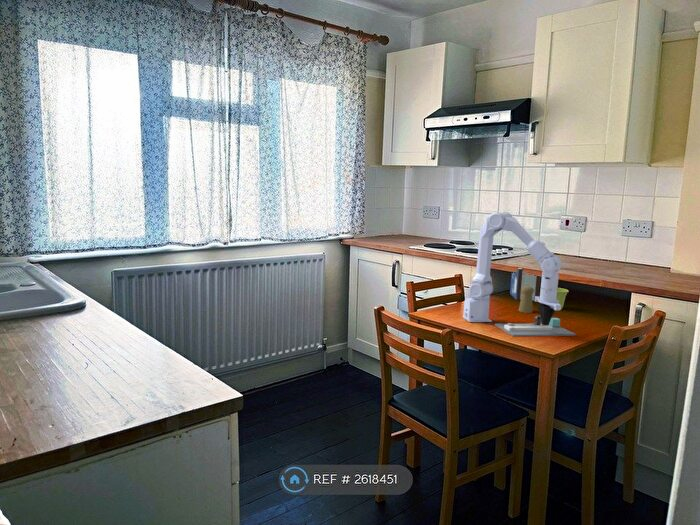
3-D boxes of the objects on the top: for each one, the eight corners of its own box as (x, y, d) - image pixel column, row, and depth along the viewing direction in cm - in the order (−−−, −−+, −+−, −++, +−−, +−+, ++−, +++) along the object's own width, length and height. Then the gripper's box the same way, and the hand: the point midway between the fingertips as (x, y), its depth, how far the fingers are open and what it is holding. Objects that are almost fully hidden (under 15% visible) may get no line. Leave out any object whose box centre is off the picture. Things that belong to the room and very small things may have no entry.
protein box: (530, 294, 267) (533, 264, 265) (538, 301, 252) (541, 269, 250) (509, 293, 268) (512, 263, 266) (515, 300, 253) (518, 268, 251)
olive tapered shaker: (533, 313, 227) (536, 288, 225) (519, 312, 228) (521, 287, 226) (531, 310, 233) (534, 285, 231) (517, 309, 234) (519, 284, 232)
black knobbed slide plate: (515, 328, 197) (516, 317, 197) (512, 326, 199) (513, 315, 199) (549, 328, 200) (550, 317, 199) (546, 326, 202) (547, 315, 201)
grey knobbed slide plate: (512, 336, 190) (513, 329, 190) (494, 325, 205) (494, 319, 204) (575, 335, 194) (576, 329, 194) (553, 324, 209) (553, 318, 209)
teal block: (552, 326, 203) (553, 319, 202) (549, 324, 205) (549, 317, 205) (559, 326, 203) (560, 319, 203) (556, 324, 206) (556, 317, 205)
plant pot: (559, 305, 245) (561, 287, 244) (570, 310, 236) (572, 291, 234) (540, 305, 243) (542, 287, 242) (551, 310, 234) (553, 291, 233)
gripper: (570, 293, 187) (566, 330, 189) (548, 285, 201) (544, 319, 203) (552, 292, 185) (548, 330, 187) (531, 284, 199) (527, 319, 201)
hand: (545, 324), depth 195 cm, fingers closed
